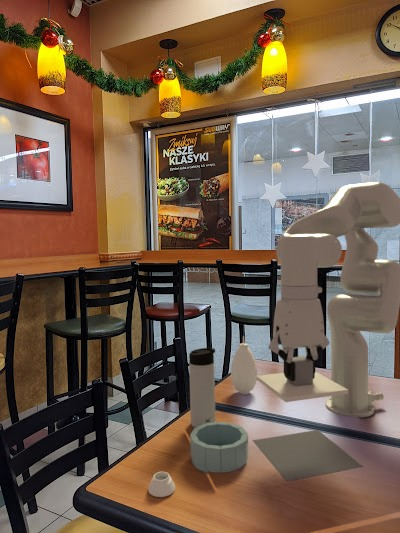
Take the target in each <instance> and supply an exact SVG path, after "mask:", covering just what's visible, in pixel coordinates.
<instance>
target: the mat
mask: <svg viewBox="0 0 400 533" xmlns="http://www.w3.org/2000/svg"><path fill="white" fill-rule="evenodd" d="M252 442H253V443H254V444H255V446H257V448H258V449H259V450H260V452H261V453H262V454H263V455H264V456H265V457H266V459H267V460H268V461H269V462H270V464H271V465H273V467H274V468H275V469H276V471H277V472H278V473H279V474H280V475H281V477H282V478H283V479H284V480H285V481H286V482H290V481H295V480H300V479H306V478H312V477H316V476H321V475H327V474H333V473H338V472H343V471H348V470H353V469H359V468H363V467H364V466H363V465H362V464H361V463H359V462H358V461H357V460H356V459H354V458H353V457H352V456H351V455H349V453H347V452H346V451H345V450H344V449H342V448H341V447H340V446H338V445H337V444H336V443H335V442H334V441H332V440H331V439H330V438H329V437H327V436H326V435H325V434H324V433H323V432H321V431H320V429H319V430H318V429H315V430H309V431H302V432H297V433H290V434H283V435H278V436H272V437H266V438H259V439H252Z"/></svg>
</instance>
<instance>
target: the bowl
mask: <svg viewBox="0 0 400 533" xmlns="http://www.w3.org/2000/svg"><path fill="white" fill-rule="evenodd" d="M189 439H190V443H189V444H190V447H189V448H190V457H191V463H192V465H193V466H194V468H196V469H197V470H198V471H200V472H202V473H204V474H207V475H209V474H210V473H228V472H233V471H236V470H239V469H241V468H242V467H244V466H245V465H246V464H247V462H248V457H249V433H248V431H246V429H245V428H244V427H243V426H240V425H238V424H236V423H234V422H233V423H232V422H225V421H215V422H212V423H205V424H203V425H200V426H198V427H196V428H193V430H192V432H191V433H190V434H189ZM209 472H210V473H209Z"/></svg>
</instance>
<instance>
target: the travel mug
mask: <svg viewBox="0 0 400 533" xmlns="http://www.w3.org/2000/svg"><path fill="white" fill-rule="evenodd" d="M215 353H216V349H215V348H212V347H211V348H210V347H205V348H204V347H203V348H197V349H196V348H195V349H194V350H191V352H189V353H188V355H189V356H188V357H189V360H188V362H189V363H188V364H189V365H188V366H189V368H188V369H189V400H190V401H189V404H190V427H191V428H192V429H194V428H196V427H198V426H200V425H203V424H205V423H212V422H216V389H215V388H216V386H215V385H216V382H215V359H214V358H215V356H214V355H215Z"/></svg>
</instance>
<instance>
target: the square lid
mask: <svg viewBox="0 0 400 533" xmlns="http://www.w3.org/2000/svg"><path fill="white" fill-rule="evenodd" d="M292 362H293V363H294V364H295V380H294V381H290V380H288V379H287V378H286V377H285V375H284V372H279V373H271V374H263V375H262V374H261V375H257V376H256V379H257V381H258V382H259V383H261V384H262V385H263V386H264V387H265V388H267V389H268V390H269V391H271V393H273V394H274V395H276V396H277V397H278V398H280V399H281V400H283V402H285V403H291V402H297V401H305V400H311V399H318V398H326V397H331V396H334V395H341V394H348V389H346V388H344V387H342V386H341V385H339V384H337V383H335V382H333V381H332V380H331V378H330V379H329V378H327V377H326V376H324V375H323V374H321V373H319V372H317V371H315V378H314V379H313V361H312V360H310V359H308V358H306V356H303V355H302V356H301V355H300V356H293V359H292Z"/></svg>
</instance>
